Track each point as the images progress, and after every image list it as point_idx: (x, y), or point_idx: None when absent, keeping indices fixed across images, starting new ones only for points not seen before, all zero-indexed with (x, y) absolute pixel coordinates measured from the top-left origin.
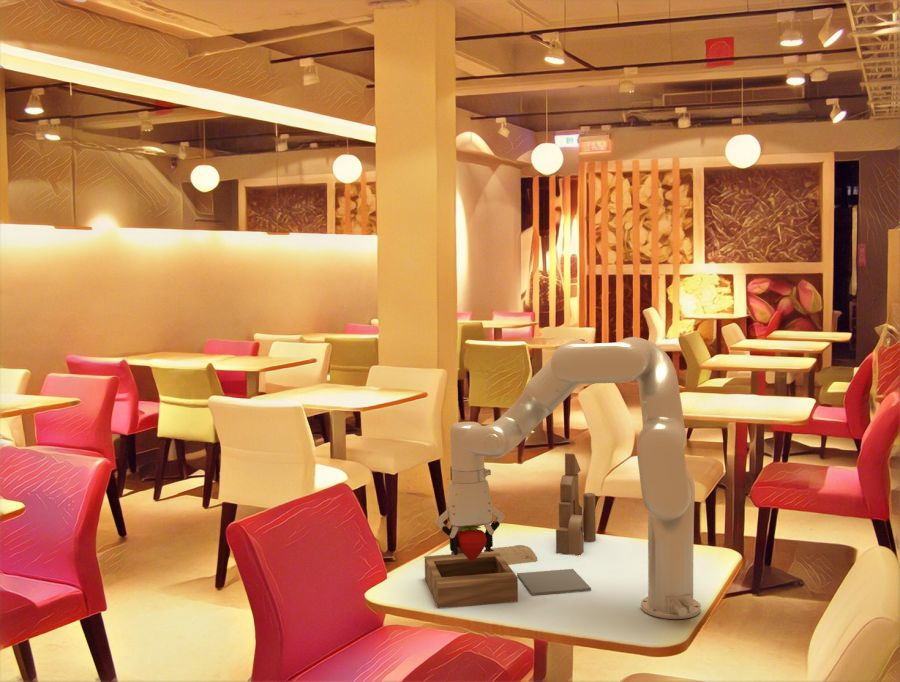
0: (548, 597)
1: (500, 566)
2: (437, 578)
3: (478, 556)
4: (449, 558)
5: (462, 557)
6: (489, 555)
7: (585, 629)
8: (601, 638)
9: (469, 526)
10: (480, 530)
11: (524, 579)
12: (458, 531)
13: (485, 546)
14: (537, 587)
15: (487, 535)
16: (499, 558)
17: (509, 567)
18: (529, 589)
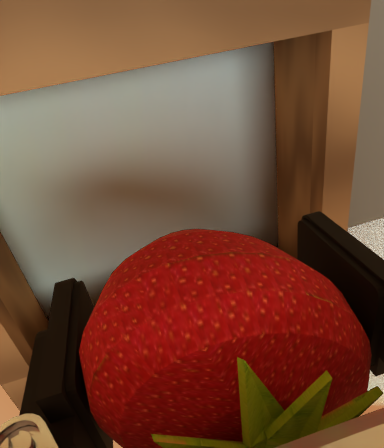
0: (378, 233)
1: (314, 166)
2: (15, 387)
3: (226, 21)
4: (2, 59)
5: (108, 37)
6: (301, 6)
7: (373, 379)
8: (380, 401)
9: (273, 443)
10: (353, 397)
11: (371, 88)
12: (121, 423)
13: (306, 240)
14: (380, 179)
15: (372, 362)
16: (342, 82)
17: (345, 227)
18: (351, 199)
